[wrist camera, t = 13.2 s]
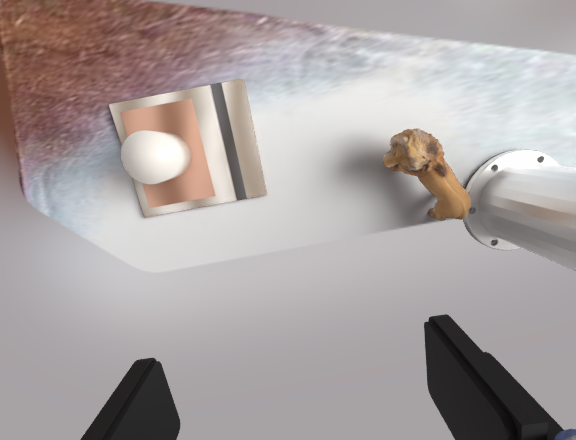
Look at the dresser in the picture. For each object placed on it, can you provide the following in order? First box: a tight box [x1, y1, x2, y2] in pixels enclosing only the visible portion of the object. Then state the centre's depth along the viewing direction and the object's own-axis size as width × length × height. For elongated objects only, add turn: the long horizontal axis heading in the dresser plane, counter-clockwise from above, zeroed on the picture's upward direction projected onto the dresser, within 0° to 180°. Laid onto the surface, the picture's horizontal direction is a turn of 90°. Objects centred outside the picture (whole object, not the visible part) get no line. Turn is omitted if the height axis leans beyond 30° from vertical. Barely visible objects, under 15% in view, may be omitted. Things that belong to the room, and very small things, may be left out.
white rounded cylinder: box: [121, 130, 192, 184], centre depth 31 cm, size 5×5×6 cm
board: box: [109, 79, 267, 217], centre depth 34 cm, size 15×13×1 cm
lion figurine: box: [384, 129, 471, 221], centre depth 32 cm, size 15×5×9 cm, turn 51°
